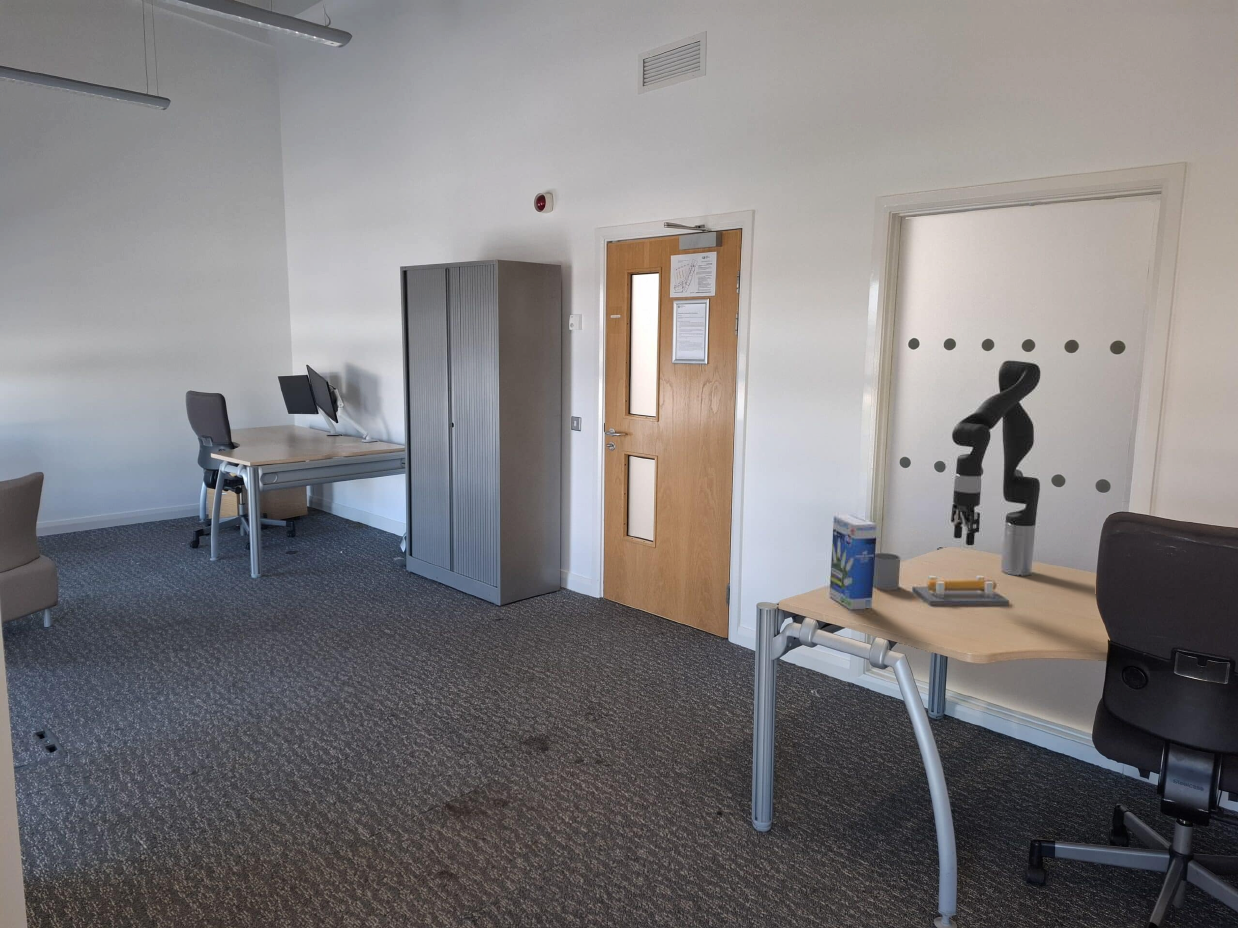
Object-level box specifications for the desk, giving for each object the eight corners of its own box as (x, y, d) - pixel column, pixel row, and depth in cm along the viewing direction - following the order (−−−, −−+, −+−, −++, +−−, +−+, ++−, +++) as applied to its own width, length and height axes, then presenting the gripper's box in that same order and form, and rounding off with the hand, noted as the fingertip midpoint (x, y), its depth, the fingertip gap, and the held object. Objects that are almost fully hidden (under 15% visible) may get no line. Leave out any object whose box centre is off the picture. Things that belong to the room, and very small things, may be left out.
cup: (889, 592, 262) (891, 561, 260) (866, 586, 268) (867, 556, 266) (903, 586, 267) (905, 556, 266) (880, 581, 273) (882, 551, 272)
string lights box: (828, 596, 257) (832, 515, 253) (850, 594, 259) (854, 513, 255) (850, 610, 244) (855, 524, 240) (873, 608, 246) (878, 523, 242)
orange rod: (931, 591, 254) (931, 581, 254) (926, 588, 257) (927, 578, 257) (998, 591, 255) (998, 581, 254) (993, 588, 258) (993, 578, 257)
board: (912, 591, 263) (913, 572, 262) (987, 591, 263) (988, 572, 263) (929, 605, 249) (931, 586, 248) (1008, 605, 250) (1010, 586, 249)
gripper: (990, 493, 244) (986, 547, 247) (969, 484, 258) (965, 535, 261) (965, 493, 244) (961, 547, 246) (945, 484, 258) (941, 535, 260)
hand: (963, 541), depth 254 cm, fingers open, 8 cm apart
